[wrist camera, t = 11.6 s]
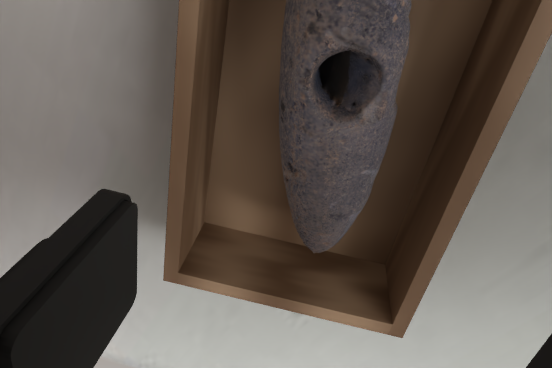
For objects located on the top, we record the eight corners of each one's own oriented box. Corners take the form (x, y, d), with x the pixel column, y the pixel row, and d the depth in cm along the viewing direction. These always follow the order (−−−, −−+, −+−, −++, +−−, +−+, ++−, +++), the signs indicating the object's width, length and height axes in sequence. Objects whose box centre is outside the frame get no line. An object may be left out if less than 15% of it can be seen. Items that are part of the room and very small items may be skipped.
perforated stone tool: (361, 220, 26) (365, 303, 20) (276, 208, 26) (255, 285, 20) (420, -64, 18) (456, -71, 12) (300, -73, 19) (278, -84, 13)
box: (559, -125, 17) (643, -155, 12) (392, 270, 28) (402, 338, 23) (234, -189, 18) (192, -241, 13) (194, 224, 28) (163, 280, 24)
